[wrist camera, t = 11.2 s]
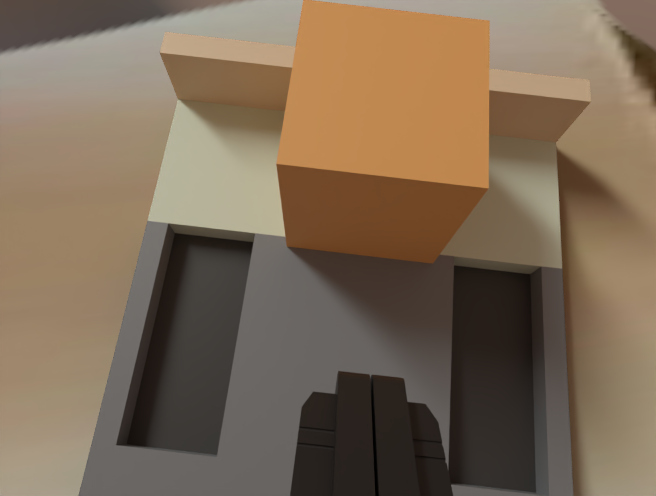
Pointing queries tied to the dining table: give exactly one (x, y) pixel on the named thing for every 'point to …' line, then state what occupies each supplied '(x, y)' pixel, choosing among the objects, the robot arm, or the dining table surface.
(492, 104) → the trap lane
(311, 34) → the orange block
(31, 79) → the dining table surface
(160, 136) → the dining table surface
